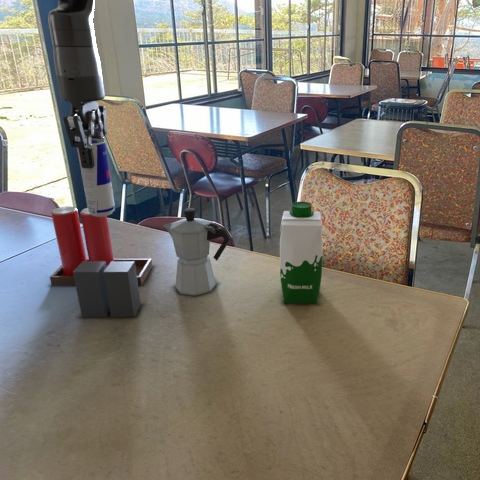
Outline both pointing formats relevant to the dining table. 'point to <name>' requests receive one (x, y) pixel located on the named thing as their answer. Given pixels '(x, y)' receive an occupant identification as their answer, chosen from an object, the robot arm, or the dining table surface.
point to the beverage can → (98, 181)
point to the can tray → (140, 264)
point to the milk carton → (301, 254)
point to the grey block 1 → (91, 288)
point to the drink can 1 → (69, 238)
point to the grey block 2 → (122, 288)
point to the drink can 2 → (97, 237)
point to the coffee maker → (195, 252)
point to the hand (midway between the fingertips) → (94, 163)
